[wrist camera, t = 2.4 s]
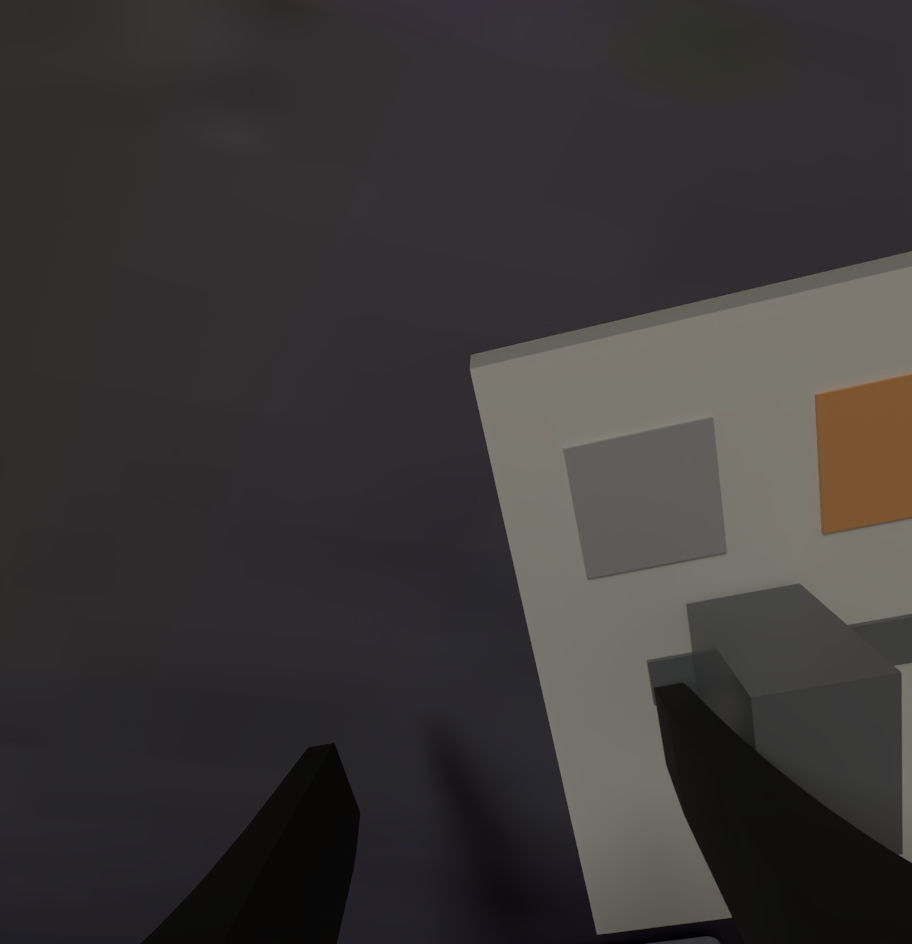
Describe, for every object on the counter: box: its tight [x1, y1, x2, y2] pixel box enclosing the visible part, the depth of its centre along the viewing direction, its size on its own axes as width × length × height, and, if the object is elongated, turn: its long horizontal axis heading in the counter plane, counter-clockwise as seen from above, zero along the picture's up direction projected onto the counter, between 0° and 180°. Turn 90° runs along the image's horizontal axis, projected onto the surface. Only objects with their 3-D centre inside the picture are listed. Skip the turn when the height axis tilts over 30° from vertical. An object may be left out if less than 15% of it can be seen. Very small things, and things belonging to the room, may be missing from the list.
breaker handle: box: [686, 583, 903, 855], centre depth 11 cm, size 4×2×3 cm, turn 13°
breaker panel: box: [470, 251, 912, 935], centre depth 14 cm, size 16×14×3 cm
